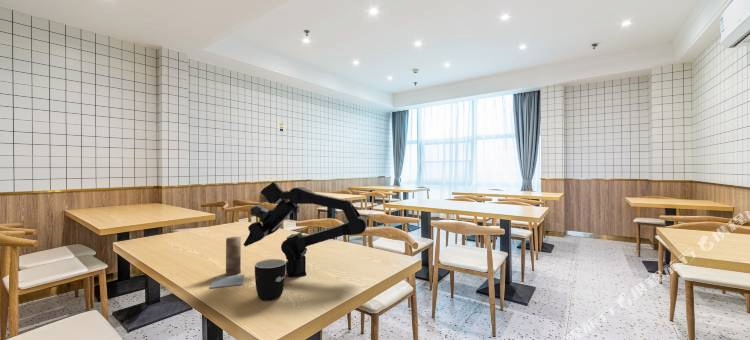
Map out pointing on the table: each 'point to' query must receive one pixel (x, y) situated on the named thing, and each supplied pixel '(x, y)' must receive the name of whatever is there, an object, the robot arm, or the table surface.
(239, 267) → the post
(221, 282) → the mat
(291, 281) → the table surface
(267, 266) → the mug
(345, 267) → the table surface
